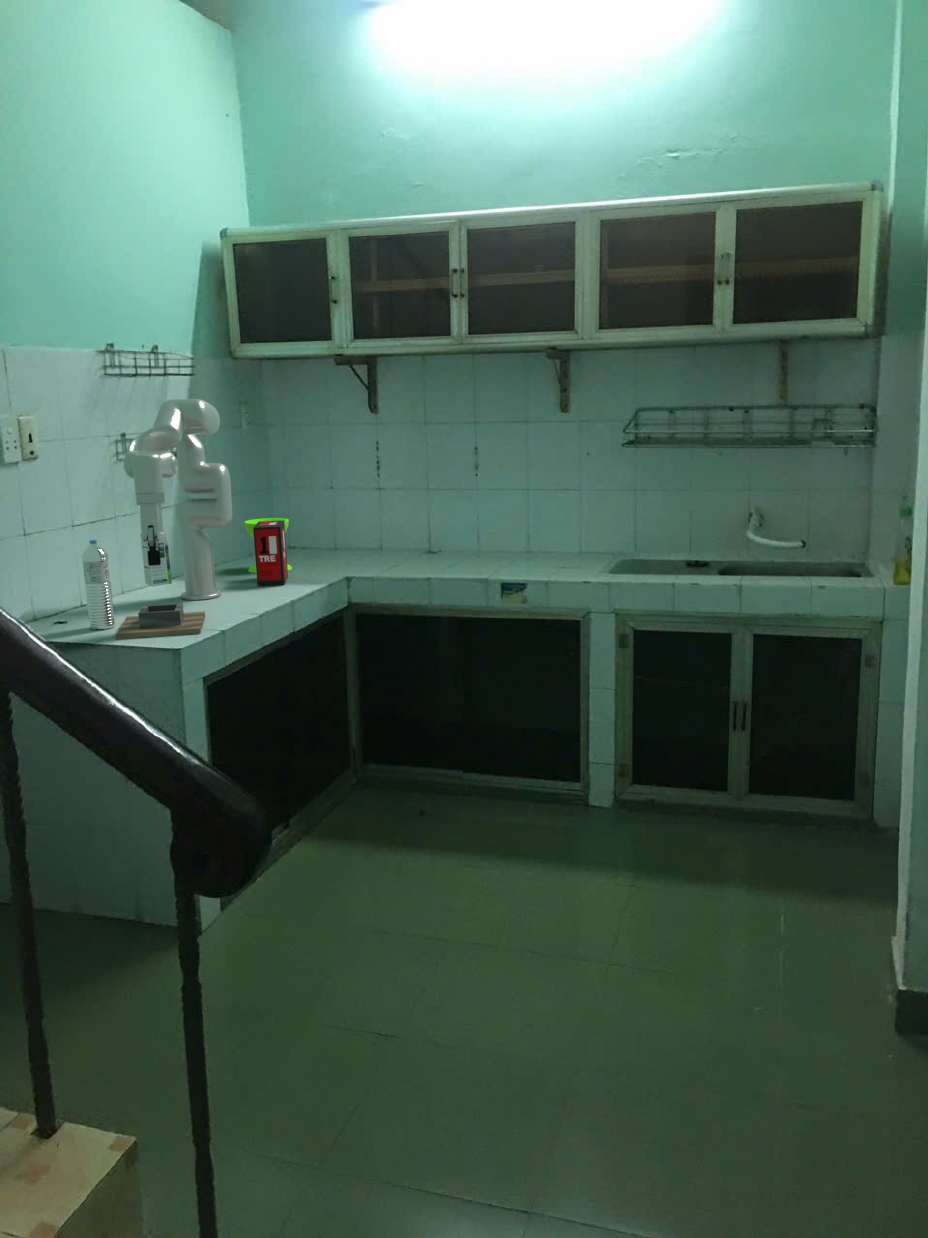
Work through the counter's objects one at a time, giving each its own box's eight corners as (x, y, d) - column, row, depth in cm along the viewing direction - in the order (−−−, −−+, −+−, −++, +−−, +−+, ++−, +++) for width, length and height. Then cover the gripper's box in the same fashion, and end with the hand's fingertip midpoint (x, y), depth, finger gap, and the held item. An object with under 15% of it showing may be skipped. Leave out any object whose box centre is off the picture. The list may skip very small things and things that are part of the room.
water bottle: (99, 624, 289) (90, 538, 284) (120, 625, 287) (111, 538, 282) (84, 629, 283) (74, 541, 277) (105, 630, 281) (95, 542, 275)
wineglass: (299, 566, 376) (296, 518, 372) (280, 573, 362) (276, 524, 357) (260, 565, 381) (257, 517, 377) (240, 572, 366) (236, 523, 362)
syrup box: (152, 586, 276) (147, 534, 273) (144, 583, 281) (139, 532, 278) (172, 584, 280) (167, 532, 276) (164, 581, 284) (160, 530, 281)
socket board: (127, 621, 292) (125, 602, 291) (205, 616, 296) (203, 598, 295) (116, 639, 271) (114, 619, 270) (200, 633, 275) (198, 613, 274)
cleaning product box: (284, 585, 340) (280, 526, 335) (257, 586, 339) (253, 527, 335) (288, 576, 356) (284, 520, 351) (262, 577, 355) (258, 521, 351)
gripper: (139, 496, 283) (146, 559, 287) (131, 502, 266) (138, 568, 270) (167, 495, 284) (173, 557, 288) (161, 501, 268) (167, 567, 271)
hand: (156, 562), depth 279 cm, fingers closed on syrup box, 7 cm apart
